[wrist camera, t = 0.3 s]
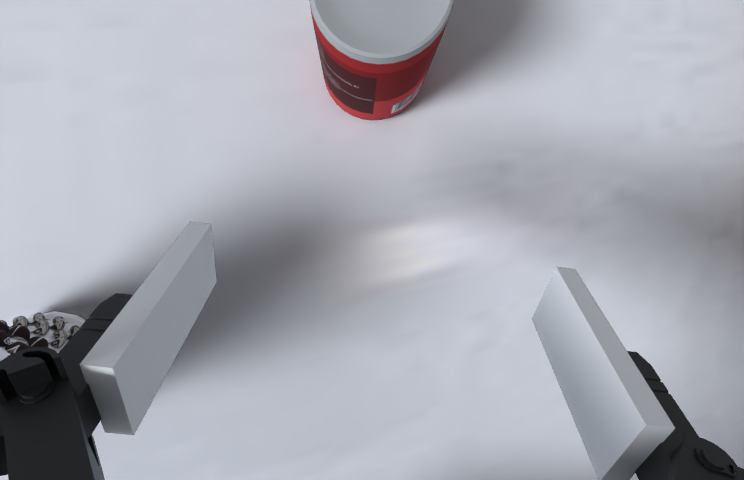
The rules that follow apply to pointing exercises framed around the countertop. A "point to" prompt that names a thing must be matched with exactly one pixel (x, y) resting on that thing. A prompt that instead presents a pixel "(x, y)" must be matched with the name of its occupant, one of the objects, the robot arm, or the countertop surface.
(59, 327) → the decorative candle
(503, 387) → the countertop surface
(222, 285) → the countertop surface
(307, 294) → the countertop surface
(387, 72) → the canned food
